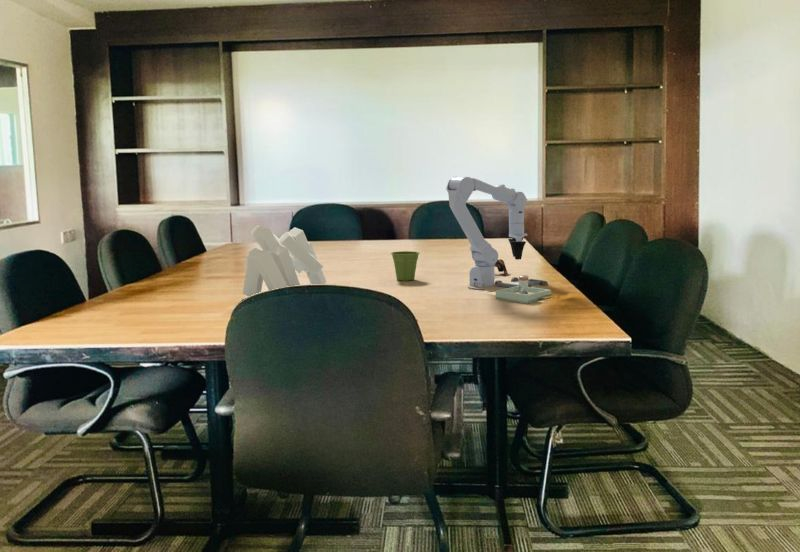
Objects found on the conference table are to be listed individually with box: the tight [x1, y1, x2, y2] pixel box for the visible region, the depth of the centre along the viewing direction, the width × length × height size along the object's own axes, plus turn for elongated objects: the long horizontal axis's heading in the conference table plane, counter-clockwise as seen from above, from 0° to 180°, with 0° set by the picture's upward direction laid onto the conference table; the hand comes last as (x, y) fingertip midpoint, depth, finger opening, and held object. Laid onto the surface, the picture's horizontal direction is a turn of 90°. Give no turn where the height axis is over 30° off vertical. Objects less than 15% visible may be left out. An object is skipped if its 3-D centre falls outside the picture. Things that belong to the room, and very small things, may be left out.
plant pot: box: [390, 250, 420, 282], centre depth 305 cm, size 12×12×11 cm
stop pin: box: [518, 274, 529, 294], centre depth 260 cm, size 3×3×7 cm
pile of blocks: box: [242, 224, 327, 297], centre depth 271 cm, size 35×30×35 cm
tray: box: [495, 286, 552, 305], centre depth 259 cm, size 14×14×3 cm
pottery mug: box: [494, 259, 508, 277], centre depth 316 cm, size 12×10×8 cm
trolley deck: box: [494, 276, 549, 288], centre depth 279 cm, size 15×15×3 cm
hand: (517, 258), depth 287 cm, fingers open, 7 cm apart
